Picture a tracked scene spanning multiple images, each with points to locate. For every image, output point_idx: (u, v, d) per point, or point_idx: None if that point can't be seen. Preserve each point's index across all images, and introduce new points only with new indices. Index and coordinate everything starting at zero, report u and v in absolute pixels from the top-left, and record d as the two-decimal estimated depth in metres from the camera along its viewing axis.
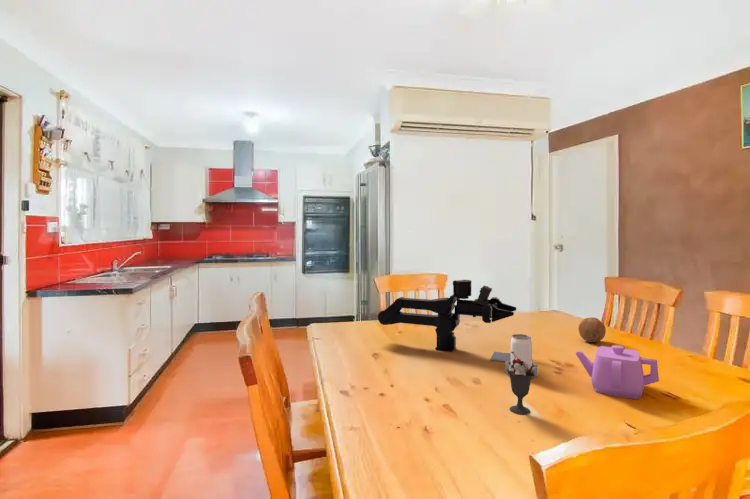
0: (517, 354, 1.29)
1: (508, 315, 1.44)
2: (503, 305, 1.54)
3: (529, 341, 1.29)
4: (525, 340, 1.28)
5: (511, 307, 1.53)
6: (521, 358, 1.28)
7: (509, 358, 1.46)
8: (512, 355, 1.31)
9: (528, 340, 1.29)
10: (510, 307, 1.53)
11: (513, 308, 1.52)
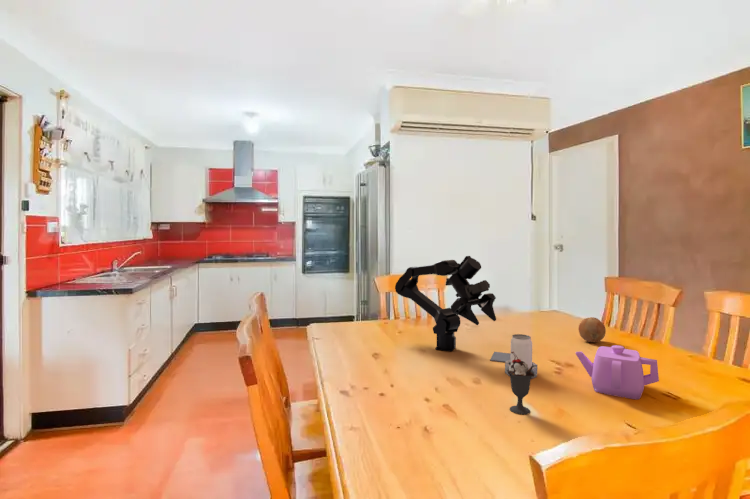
0: (517, 354, 1.29)
1: (473, 321, 1.41)
2: (489, 308, 1.48)
3: (529, 341, 1.29)
4: (525, 340, 1.28)
5: (493, 315, 1.47)
6: (521, 358, 1.28)
7: (509, 358, 1.46)
8: (512, 355, 1.31)
9: (528, 340, 1.29)
10: (492, 315, 1.47)
11: (493, 318, 1.46)
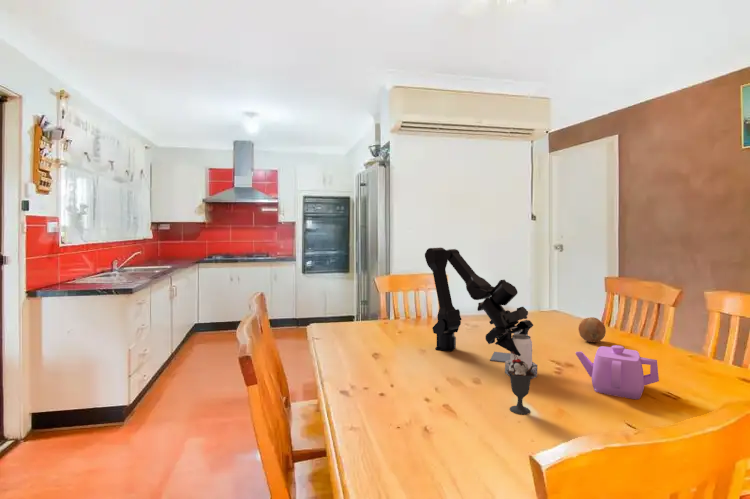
0: None
1: (514, 352, 1.29)
2: None
3: (529, 341, 1.29)
4: (525, 340, 1.28)
5: None
6: (521, 358, 1.28)
7: (509, 358, 1.46)
8: (512, 355, 1.31)
9: (528, 340, 1.29)
10: None
11: None
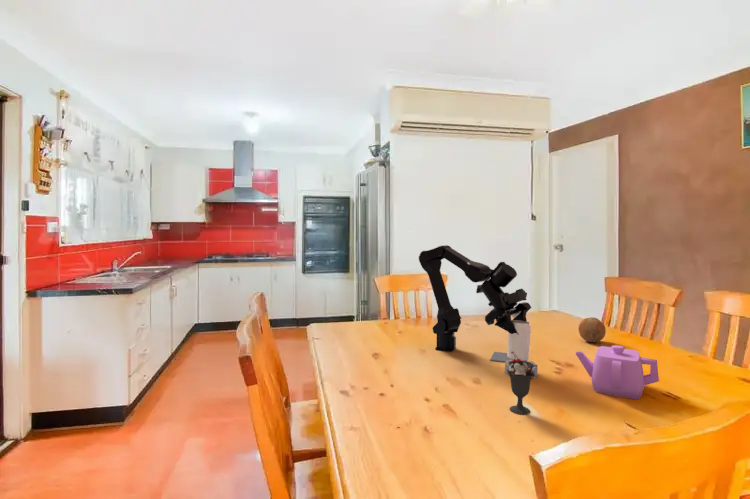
0: (515, 338, 1.30)
1: None
2: (522, 320, 1.36)
3: (527, 326, 1.30)
4: (523, 324, 1.30)
5: None
6: (518, 342, 1.30)
7: None
8: (510, 339, 1.32)
9: (526, 324, 1.30)
10: None
11: None
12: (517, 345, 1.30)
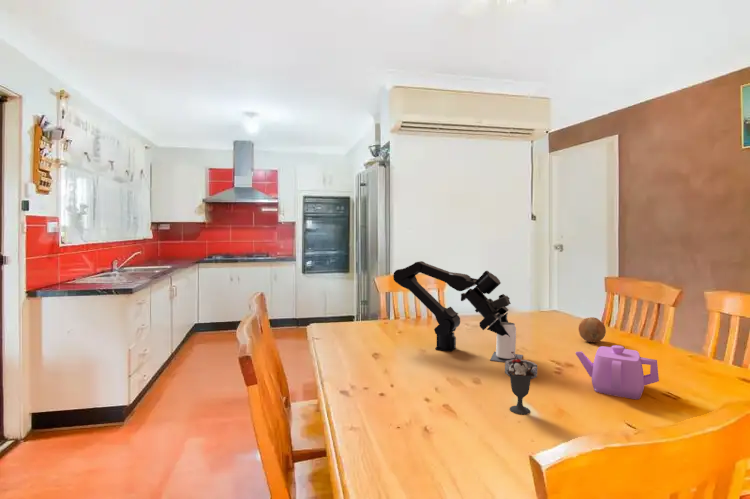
0: (505, 338, 1.43)
1: None
2: None
3: (514, 326, 1.45)
4: (512, 325, 1.44)
5: None
6: (509, 342, 1.43)
7: None
8: (500, 340, 1.44)
9: (514, 326, 1.45)
10: None
11: None
12: (507, 345, 1.43)
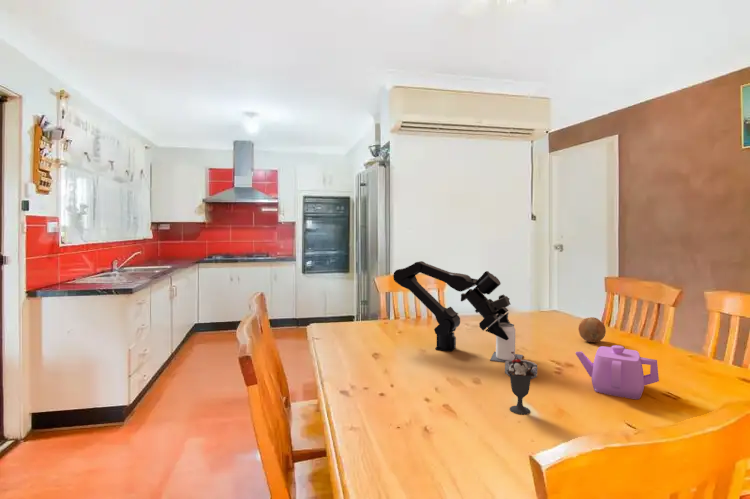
0: (505, 340, 1.43)
1: (502, 337, 1.42)
2: (506, 322, 1.51)
3: (514, 328, 1.44)
4: (511, 327, 1.43)
5: None
6: (508, 344, 1.43)
7: None
8: (499, 342, 1.44)
9: (513, 327, 1.44)
10: None
11: None
12: (507, 347, 1.43)
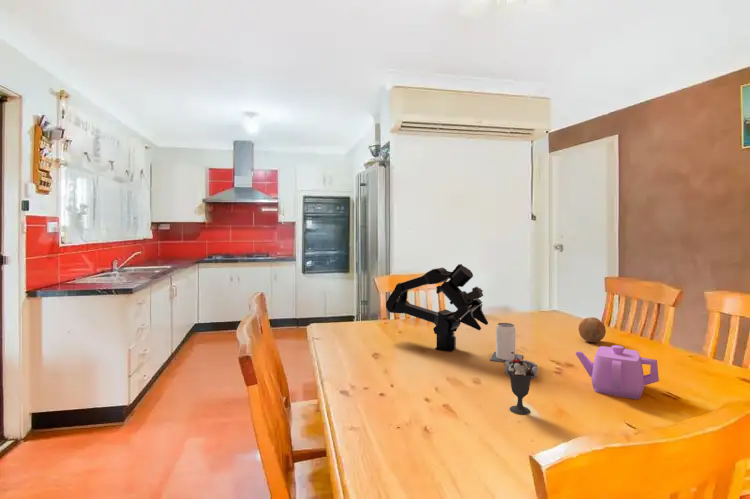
0: (505, 340, 1.43)
1: (475, 327, 1.47)
2: (480, 313, 1.56)
3: (514, 328, 1.44)
4: (511, 327, 1.43)
5: (484, 320, 1.55)
6: (508, 344, 1.43)
7: None
8: (499, 342, 1.44)
9: (513, 327, 1.44)
10: (484, 319, 1.55)
11: (485, 322, 1.55)
12: (507, 347, 1.43)
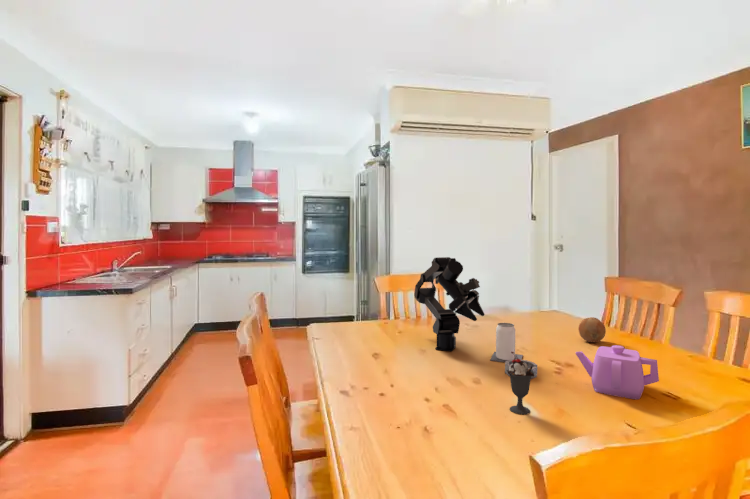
0: (505, 341, 1.43)
1: (471, 318, 1.47)
2: (477, 304, 1.56)
3: (514, 328, 1.44)
4: (511, 327, 1.43)
5: (481, 311, 1.55)
6: (508, 344, 1.43)
7: None
8: (499, 342, 1.44)
9: (513, 327, 1.44)
10: (480, 310, 1.55)
11: (481, 313, 1.55)
12: (507, 347, 1.43)
